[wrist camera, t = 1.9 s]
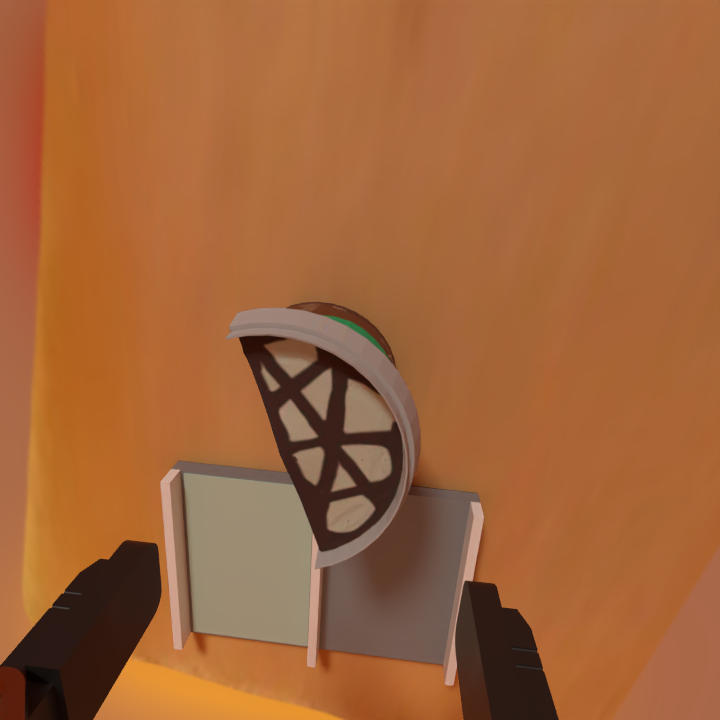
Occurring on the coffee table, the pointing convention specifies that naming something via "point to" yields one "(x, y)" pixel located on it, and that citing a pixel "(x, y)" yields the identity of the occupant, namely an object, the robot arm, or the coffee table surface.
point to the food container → (334, 418)
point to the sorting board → (297, 568)
